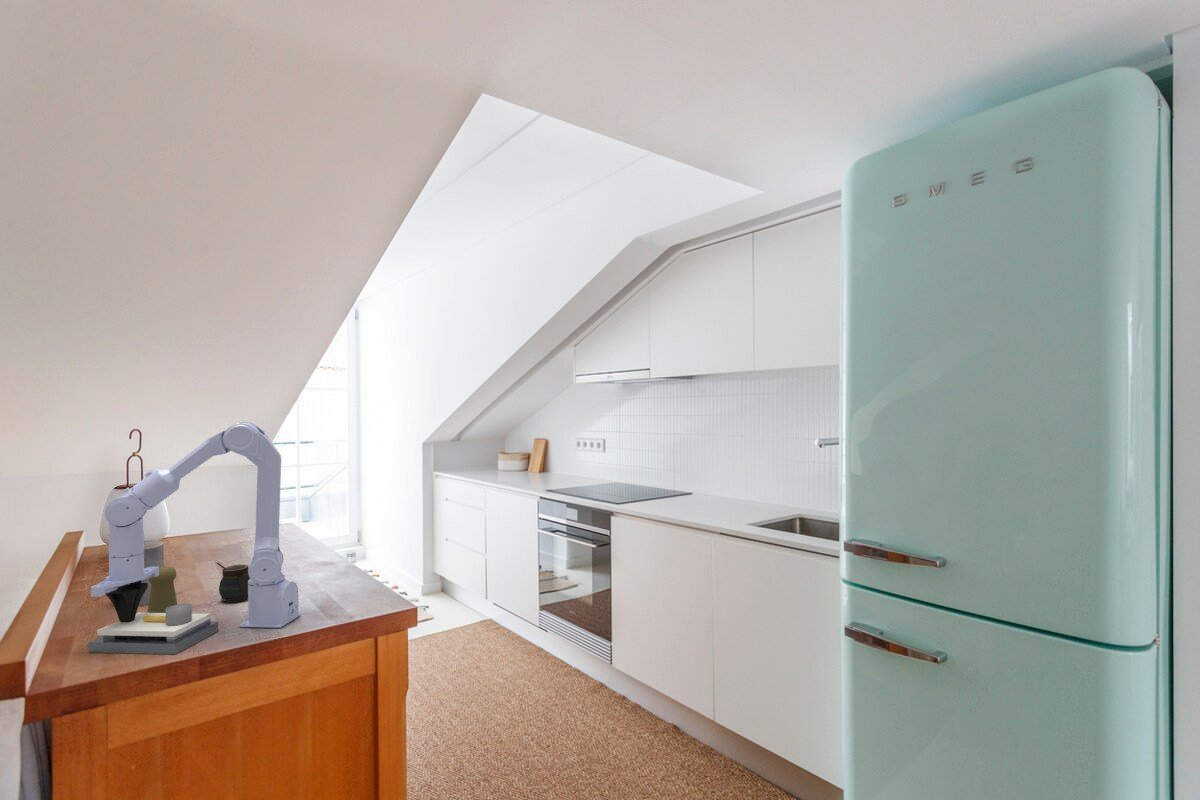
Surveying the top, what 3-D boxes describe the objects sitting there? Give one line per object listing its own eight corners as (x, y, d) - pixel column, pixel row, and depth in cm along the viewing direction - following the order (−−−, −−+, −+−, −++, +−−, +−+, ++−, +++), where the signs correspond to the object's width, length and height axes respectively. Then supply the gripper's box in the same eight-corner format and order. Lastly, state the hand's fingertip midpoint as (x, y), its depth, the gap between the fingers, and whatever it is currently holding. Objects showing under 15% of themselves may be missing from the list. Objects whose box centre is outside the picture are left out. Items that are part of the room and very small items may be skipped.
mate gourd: (259, 598, 155) (258, 557, 154) (226, 607, 148) (225, 565, 148) (244, 593, 159) (243, 553, 158) (212, 601, 152) (211, 560, 152)
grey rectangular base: (218, 631, 133) (218, 616, 133) (175, 654, 121) (175, 638, 121) (138, 629, 134) (138, 615, 134) (88, 652, 122) (88, 636, 122)
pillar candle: (118, 599, 155) (116, 538, 155) (166, 592, 160) (164, 533, 160) (112, 610, 147) (111, 546, 146) (163, 603, 152) (162, 541, 152)
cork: (173, 610, 146) (173, 562, 146) (182, 615, 143) (182, 567, 143) (142, 617, 142) (142, 568, 142) (151, 623, 138) (150, 573, 138)
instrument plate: (210, 618, 132) (210, 599, 132) (174, 636, 122) (174, 616, 122) (138, 617, 133) (138, 598, 133) (97, 635, 123) (97, 614, 123)
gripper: (137, 545, 135) (137, 608, 135) (75, 563, 121) (76, 634, 121) (168, 546, 135) (168, 609, 135) (110, 564, 120) (110, 635, 120)
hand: (127, 621), depth 128 cm, fingers closed, pressing on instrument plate
